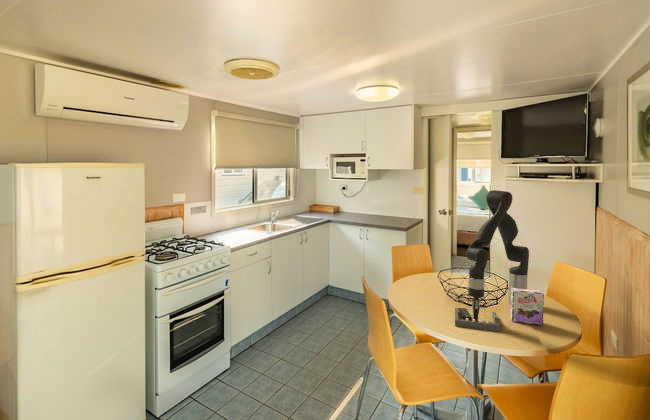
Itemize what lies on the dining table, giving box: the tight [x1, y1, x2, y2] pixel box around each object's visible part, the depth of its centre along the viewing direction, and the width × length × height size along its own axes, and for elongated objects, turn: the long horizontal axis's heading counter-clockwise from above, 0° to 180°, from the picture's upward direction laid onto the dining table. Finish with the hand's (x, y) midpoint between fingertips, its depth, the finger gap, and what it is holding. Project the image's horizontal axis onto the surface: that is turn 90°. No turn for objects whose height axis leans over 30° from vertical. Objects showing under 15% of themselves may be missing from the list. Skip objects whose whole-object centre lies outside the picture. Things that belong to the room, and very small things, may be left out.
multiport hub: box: [457, 307, 472, 321], centre depth 179 cm, size 4×14×2 cm, turn 167°
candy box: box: [509, 288, 545, 326], centre depth 171 cm, size 14×6×16 cm, turn 68°
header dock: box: [454, 307, 502, 333], centre depth 170 cm, size 20×20×4 cm
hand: (475, 320), depth 171 cm, fingers closed
